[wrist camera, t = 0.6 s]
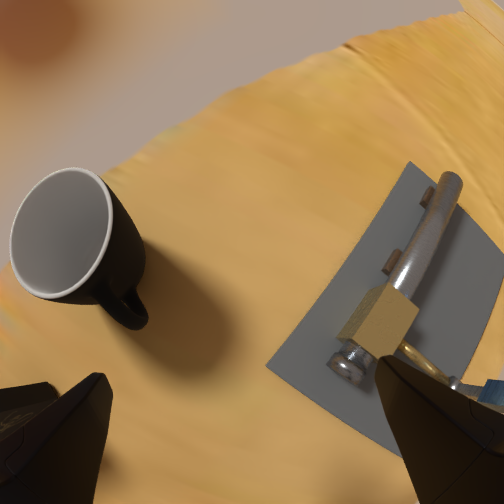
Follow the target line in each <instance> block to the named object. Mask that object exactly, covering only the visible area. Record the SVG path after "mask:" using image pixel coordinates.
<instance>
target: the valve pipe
mask: <svg viewBox="0 0 504 504" xmlns="http://www.w3.org/2000/svg"><path fill="white" fill-rule="evenodd" d="M462 188H463V182H462V179H461V178H460V177H459V176H458V175H457V174H455V173H454V172H450V171H447V172H444V173H443V174H442V175H441V177H440V179H439V182H438V184H437V186H436V188H435V189H434V188H433V187H432V186H429V187H428V188H427V189H426V191H425V193H424V195H423V197H422V199H421V201H420V203H419V204H420V205H421V206H422V207H423V208H424V209H425V211H424V213H423V215H422V217H421V219H420V221H419V223H418V225H417V227H416V229H415V231H414V232H413V234H412V236H411V238H410V240H409V242H408V244H407V245H406V247H405V249H404V251H403V252H402V251H400V250H399V249H398V248H397V249H395V250H394V251H392V253H391V255H390V257H389V258H388V260H387V262H386V263H385V265H384V266H383V268H382V270H381V271H382V272H383V273H384V274H385V275H387V276H388V278H387V280H386V281H385V283H384V284H383V285H380V286H377V287H375V288H372V289H369V290H368V292H367V293H366V295H365V296H364V298H363V299H362V301H361V302H360V304H359V305H358V307H357V308H356V310H355V311H354V313H353V314H352V315H351V317H350V318H349V320H348V321H347V323H346V324H345V325H344V327H343V328H342V330H341V331H340V332H339V334H338V335H337V336H336V339H338V340H339V341H340V342H342V343H343V346H342V347H341V349H340V350H339V351H338V353H337V352H335V353H334V354H333V355H332V357H331V358H330V359H329V361H328V362H327V363H326V366H327V367H329V368H330V369H331V370H332V371H334V372H335V373H336V374H338V375H339V376H340V377H342V378H343V379H345V380H346V381H348V382H349V383H351V384H353V385H355V386H357V387H358V385H359V384H360V383H361V381H362V380H363V378H364V377H365V376H366V374H367V373H366V370H367V369H368V367H369V366H370V364H371V363H378V359H379V358H380V357H381V356H385V355H393V353H394V352H395V350H396V349H398V350H399V351H400V352H402V353H403V354H404V355H405V356H406V357H408V358H409V359H410V360H411V361H412V362H414V363H415V364H416V365H417V366H418V367H420V368H421V369H422V370H423V371H425V372H426V373H427V374H428V375H429V376H431V377H432V378H434V379H436V380H438V381H439V382H441V383H443V384H445V385H447V386H448V385H449V384H450V381H451V379H450V378H449V377H448V376H447V375H445V374H444V373H443V372H442V371H441V370H440V369H439V368H437V367H436V366H435V365H434V364H433V363H432V362H430V361H429V360H428V359H427V358H426V357H425V356H423V355H422V354H421V353H420V352H419V351H418V350H416V349H415V348H414V347H413V346H412V345H411V344H409V343H408V342H407V341H406V340H405V339H403V337H404V336H405V334H406V333H407V331H408V329H409V327H410V326H411V324H412V322H413V321H414V319H415V317H416V315H417V313H418V312H419V310H420V309H419V308H418V307H417V306H415V305H414V304H413V303H412V302H411V299H412V297H413V295H414V294H415V292H416V290H417V288H418V286H419V284H420V283H421V281H422V279H423V277H424V275H425V273H426V271H427V269H428V267H429V265H430V263H431V261H432V259H433V257H434V255H435V253H436V251H437V248H438V246H439V244H440V242H441V240H442V237H443V235H444V233H445V231H446V228H447V226H448V224H449V221H450V219H451V216H452V214H453V211H454V209H455V206H456V204H457V201H458V199H459V196H460V193H461V191H462Z"/></svg>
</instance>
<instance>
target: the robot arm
mask: <svg viewBox="0 0 504 504" xmlns="http://www.w3.org/2000/svg"><path fill="white" fill-rule="evenodd" d="M374 380H375V383H376V387H377V390H378V393H379V397H380V400H381V403H382V407H383V410H384V413H385V416H386V419H387V422H388V424H389V426H390V429H391V431H392V433H393V436H394V438H395V441H396V443H397V446H398V448H399V450H400V453H401V455H402V458H403V460H404V463H405V465H406V468H407V471H408V473H409V476H410V478H411V481H412V484H413V486H414V489H415V492H416V494H417V497H418V500H419V503H420V504H504V414H502V413H499V412H497V411H495V410H492V409H490V408H488V407H486V406H484V405H482V404H480V403H478V402H476V401H474V400H472V399H471V398H469V399H468V397H467V396H465V395H463V394H461V393H459V392H458V391H456V390H454V389H452V388H450V387H449V386H447V385H445V384H443V383H441V382H439V381H438V380H436V379H434V378H432V377H430V376H429V375H427V374H425V373H423V372H421V371H420V370H418V369H416V368H414V367H413V366H411V365H409V364H407V363H405V362H404V361H402V360H400V359H398V358H397V357H395V356H393V355H385V356H381V357H380V358H379V359H378V363H377V367H376V370H375V374H374ZM112 400H113V391H112V389H111V386H110V384H109V382H108V379H107V377H106V375H105V374H104V373H97V372H94V373H92V374H90V375H89V376H87V377H86V378H85V379H83V380H82V381H81V382H80V383H78V384H77V385H76V386H74V387H73V388H72V389H70V390H69V391H68V392H66V393H65V394H64V395H62V396H61V397H60V398H58V399H57V400H56V401H54V402H53V403H52V404H50V405H49V406H48V407H46V408H45V409H44V410H42V411H41V412H40V413H38V414H37V415H36V416H34V417H33V418H32V419H30V420H29V421H28V422H26V423H25V424H24V425H22V426H21V427H20V428H18V429H17V430H16V431H14V432H13V433H11V434H10V435H9V436H7V437H6V438H4V439H3V440H1V441H0V504H93V499H94V494H95V488H96V483H97V478H98V474H99V469H100V464H101V460H102V455H103V451H104V447H105V443H106V439H107V434H108V428H109V420H110V413H111V406H112Z"/></svg>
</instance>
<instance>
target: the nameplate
mask: <svg viewBox="0 0 504 504" xmlns="http://www.w3.org/2000/svg"><path fill="white" fill-rule="evenodd" d="M57 399H58V398H57V397H56V395H55V393H54V392H53V390H52V388H51V387H50V385H49V383H48V382H42V383H36V384H30V385H24V386H18V387H11V388H4V389H0V441H1V440H3V439H4V438H6V437H7V436H9V435H10V434H11V433H13V432H14V431H16V430H17V429H18V428H20V427H21V426H22V425H24V424H25V423H26V422H28V421H29V420H30V419H32V418H33V417H34V416H36V415H37V414H38V413H40V412H41V411H42V410H44V409H45V408H46V407H48V406H49V405H50V404H52V403H53V402H54V401H56V400H57Z"/></svg>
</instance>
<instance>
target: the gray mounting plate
mask: <svg viewBox="0 0 504 504" xmlns="http://www.w3.org/2000/svg"><path fill="white" fill-rule="evenodd" d="M429 186H432V187H433V188H434V189H435V188H436V186H437V184H436V183H435V182H434V181H433V180H432V179H431V178H429V177H428V176H427V175H426V174H425V173H424V172H423V171H421V170H420V169H419V168H418V167H417V166H416V165H414V164H413V163H412V162H411V161H409V163H408V164H407V166H406V167H405V169H404V171H403V172H402V174H401V176H400V177H399V179H398V181H397V182H396V184H395V186H394V187H393V189H392V191H391V192H390V194H389V195H388V197H387V199H386V200H385V202H384V203H383V205H382V207H381V208H380V210H379V211H378V213H377V214H376V216H375V218H374V219H373V221H372V222H371V224H370V225H369V227H368V228H367V230H366V231H365V233H364V234H363V236H362V237H361V239H360V240H359V242H358V243H357V245H356V246H355V248H354V249H353V251H352V252H351V253H350V255H349V256H348V258H347V259H346V261H345V262H344V264H343V265H342V266H341V268H340V269H339V271H338V272H337V273H336V275H335V276H334V278H333V279H332V280H331V282H330V283H329V284H328V286H327V287H326V289H325V290H324V291H323V293H322V294H321V295H320V297H319V298H318V299H317V301H316V302H315V303H314V305H313V306H312V307H311V309H310V310H309V311H308V313H307V314H306V315H305V317H304V318H303V319H302V320H301V322H300V323H299V324H298V326H297V327H296V328H295V329H294V331H293V332H292V333H291V334H290V336H289V337H288V338H287V339H286V341H285V342H284V343H283V344H282V346H281V347H280V348H279V349H278V351H277V352H276V353H275V354H274V355H273V357H272V358H271V359H270V360H269V362H268V363H267V364H266V365H265V366H266V367H267V368H269V369H270V370H271V371H273V372H274V373H275V374H277V375H278V376H279V377H281V378H282V379H283V380H285V381H286V382H287V383H289V384H290V385H292V386H293V387H294V388H296V389H297V390H298V391H300V392H301V393H303V394H304V395H305V396H307V397H308V398H310V399H311V400H312V401H314V402H315V403H317V404H318V405H320V406H321V407H322V408H324V409H325V410H327V411H328V412H330V413H331V414H333V415H334V416H336V417H337V418H339V419H340V420H342V421H343V422H345V423H346V424H348V425H349V426H351V427H352V428H354V429H355V430H357V431H359V432H360V433H362V434H363V435H365V436H366V437H368V438H370V439H371V440H373V441H374V442H376V443H378V444H379V445H381V446H383V447H384V448H386V449H388V450H389V451H391V452H393V453H394V454H396V455H398V456H400V457H401V458H402V455H401V453H400V450H399V448H398V446H397V443H396V441H395V438H394V436H393V433H392V431H391V429H390V426H389V424H388V422H387V419H386V416H385V413H384V410H383V407H382V403H381V400H380V397H379V393H378V390H377V387H376V383H375V380H374V374H375V370H376V367H377V363H371V364H370V366H369V367H368V369H367V370H366V373H367V374H366V376H365V377H364V378H363V380H362V381H361V383H360V384H359V385H358V387H357V386H355V385H353V384H351V383H349V382H348V381H346V380H345V379H343V378H342V377H340V376H339V375H338V374H336V373H335V372H334V371H332V370H331V369H330V368H329V367H327V366H326V363H327V362H328V361H329V359H330V358H331V357H332V355H333V354H334V353H335V352H337V353H338V351H339V350H340V349H341V347H342V346H343V343H342V342H340V341H339V340H338V339H336V336H337V335H338V334H339V332H340V331H341V330H342V328H343V327H344V325H345V324H346V323H347V321H348V320H349V318H350V317H351V315H352V314H353V313H354V311H355V310H356V308H357V307H358V305H359V304H360V302H361V301H362V299H363V298H364V296H365V295H366V293H367V292H368V290H369V289H372V288H375V287H377V286H380V285H383V284H384V283H385V281H386V280H387V278H388V276H387V275H385V274H384V273H383V272H382V271H381V270H382V268H383V266H384V265H385V263H386V262H387V260H388V258H389V257H390V255H391V253H392V251H394V250H395V249H397V248H398V249H399V250H400V251H402V252H403V251H404V249H405V247H406V245H407V244H408V242H409V240H410V238H411V236H412V234H413V232H414V231H415V229H416V227H417V225H418V223H419V221H420V219H421V217H422V215H423V213H424V211H425V209H424V208H423V207H422V206H421V205H420V204H419V203H420V201H421V199H422V197H423V195H424V193H425V191H426V189H427V188H428V187H429ZM503 276H504V254H503V253H502V252H501V250H500V249H499V248H498V247H497V246H496V245H495V243H494V242H493V241H492V240H491V239H490V238H489V236H488V235H487V234H486V233H485V232H484V231H483V230H482V229H481V228H480V227H479V225H478V224H477V223H476V222H475V221H474V220H473V219H472V218H471V217H470V216H469V215H468V214H467V213H466V212H465V211H464V210H463V209H462V208H461V207H460V206H459V205H458V204H456V206H455V209H454V211H453V214H452V216H451V219H450V221H449V224H448V226H447V228H446V231H445V233H444V235H443V237H442V240H441V242H440V244H439V246H438V248H437V251H436V253H435V255H434V257H433V259H432V261H431V263H430V265H429V267H428V269H427V271H426V273H425V275H424V277H423V279H422V281H421V283H420V284H419V286H418V288H417V290H416V292H415V294H414V295H413V297H412V299H411V302H412V303H413V304H414V305H415V306H417V307H418V308H419V309H420V310H419V312H418V313H417V315H416V317H415V319H414V321H413V322H412V324H411V326H410V327H409V329H408V331H407V333H406V334H405V336H404V337H403V339H405V340H406V341H407V342H408V343H409V344H411V345H412V346H413V347H414V348H415V349H416V350H418V351H419V352H420V353H421V354H422V355H423V356H425V357H426V358H427V359H428V360H429V361H430V362H432V363H433V364H434V365H435V366H436V367H437V368H439V369H440V370H441V371H442V372H443V373H444V374H445V375H447V376H448V377H450V376H455V377H456V378H457V379H459V380H460V379H461V377H462V375H463V373H464V371H465V370H466V368H467V366H468V364H469V362H470V360H471V358H472V356H473V353H474V351H475V349H476V347H477V345H478V343H479V340H480V338H481V336H482V334H483V331H484V329H485V327H486V324H487V322H488V319H489V317H490V314H491V311H492V309H493V306H494V303H495V301H496V298H497V295H498V292H499V289H500V286H501V283H502V280H503ZM393 356H395V357H397V358H398V359H400V360H402V361H404V362H405V363H407V364H409V365H411V366H413V367H414V368H416V369H418V370H420V371H421V372H423V373H425V374H427V373H426V372H425V371H423V370H422V369H421V368H420V367H418V366H417V365H416V364H415V363H414V362H412V361H411V360H410V359H409V358H408V357H406V356H405V355H404V354H403V353H402V352H400V351H399V350H398V349H396V350H395V352H394V353H393ZM427 375H428V374H427ZM430 377H431V376H430Z"/></svg>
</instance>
